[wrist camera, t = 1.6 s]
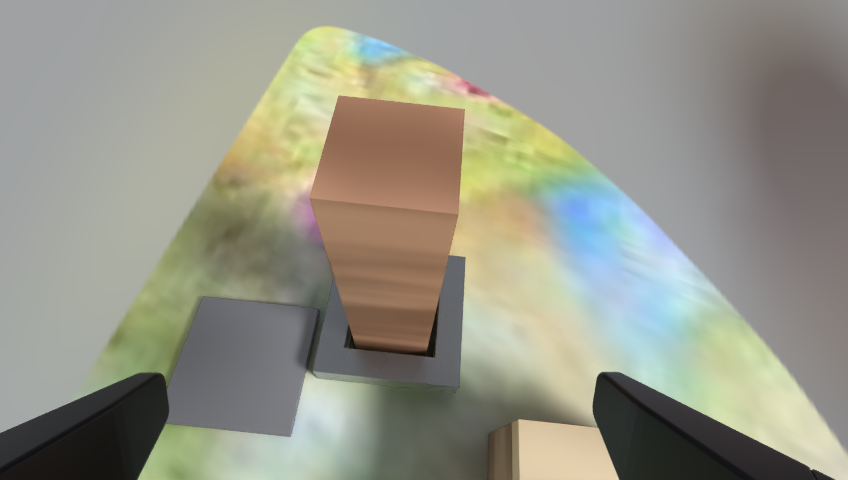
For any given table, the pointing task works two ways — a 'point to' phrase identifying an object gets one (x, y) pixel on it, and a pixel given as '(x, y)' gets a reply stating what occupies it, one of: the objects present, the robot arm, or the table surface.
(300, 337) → the felt pad
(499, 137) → the table surface
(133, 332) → the table surface
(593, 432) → the lid
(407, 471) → the table surface
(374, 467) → the table surface
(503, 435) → the tan boxy piece
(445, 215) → the brown rectangular block
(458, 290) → the socket
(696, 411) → the robot arm
